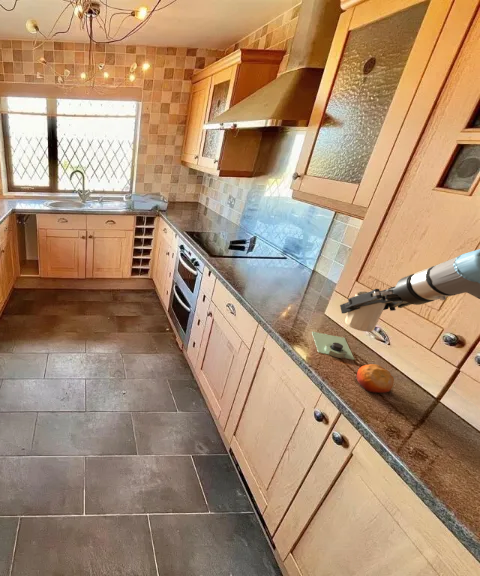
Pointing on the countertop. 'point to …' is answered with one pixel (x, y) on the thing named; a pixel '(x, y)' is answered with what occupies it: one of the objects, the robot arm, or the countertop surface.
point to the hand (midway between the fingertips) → (355, 309)
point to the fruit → (375, 378)
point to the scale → (326, 342)
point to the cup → (365, 316)
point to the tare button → (337, 347)
